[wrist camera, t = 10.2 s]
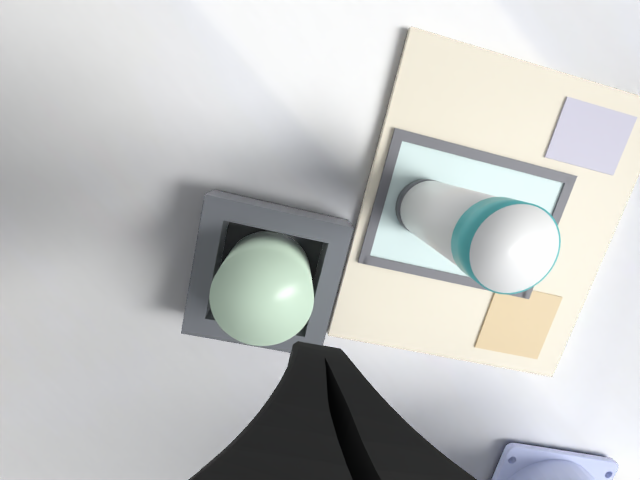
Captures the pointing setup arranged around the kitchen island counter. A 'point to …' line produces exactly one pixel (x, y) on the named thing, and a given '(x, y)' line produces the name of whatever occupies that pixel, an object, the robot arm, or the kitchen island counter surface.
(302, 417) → the robot arm
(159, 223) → the kitchen island counter surface
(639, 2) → the kitchen island counter surface
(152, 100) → the kitchen island counter surface
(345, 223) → the button housing
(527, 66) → the sheet
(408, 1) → the kitchen island counter surface
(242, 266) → the button
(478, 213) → the marker
